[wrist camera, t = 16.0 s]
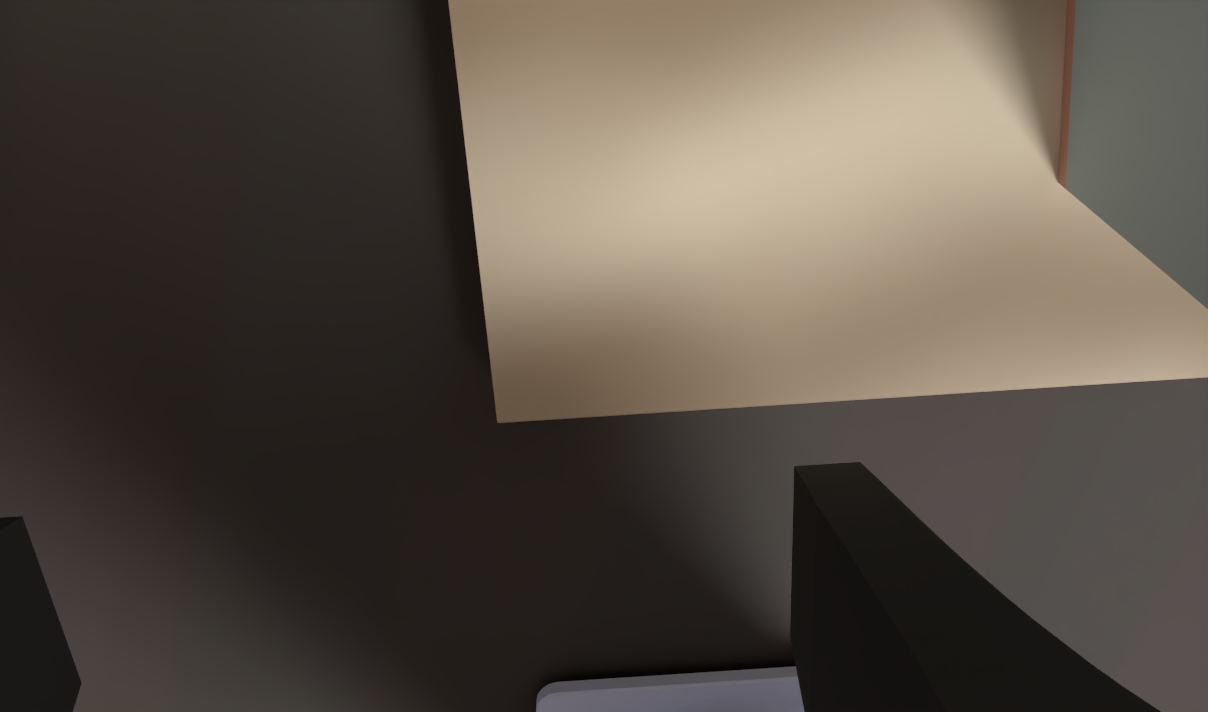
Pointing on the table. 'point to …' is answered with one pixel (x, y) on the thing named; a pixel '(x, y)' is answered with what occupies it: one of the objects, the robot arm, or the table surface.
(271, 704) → the table surface
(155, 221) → the table surface
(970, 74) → the birch board
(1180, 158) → the block
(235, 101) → the table surface
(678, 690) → the robot arm
